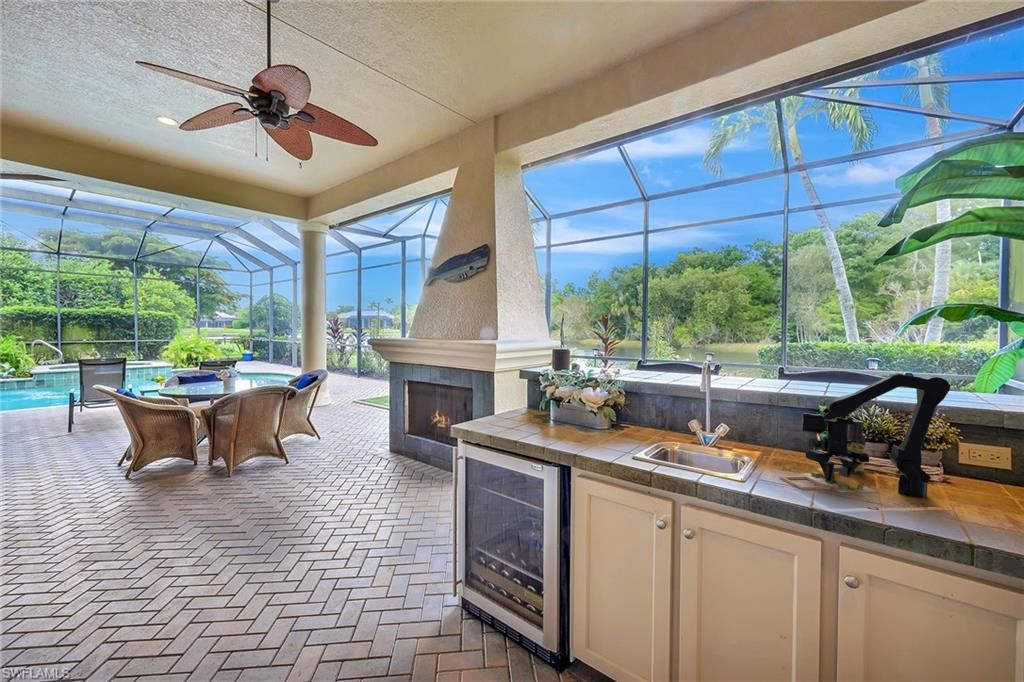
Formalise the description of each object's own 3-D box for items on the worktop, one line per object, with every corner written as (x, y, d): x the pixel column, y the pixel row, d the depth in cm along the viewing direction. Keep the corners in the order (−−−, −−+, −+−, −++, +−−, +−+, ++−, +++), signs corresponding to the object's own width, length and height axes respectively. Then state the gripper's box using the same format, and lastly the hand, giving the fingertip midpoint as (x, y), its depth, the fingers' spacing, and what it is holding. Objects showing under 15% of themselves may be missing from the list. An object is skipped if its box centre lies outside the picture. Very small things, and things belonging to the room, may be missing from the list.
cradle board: (799, 475, 148) (799, 469, 148) (832, 475, 149) (832, 469, 149) (840, 494, 131) (840, 487, 131) (877, 493, 132) (877, 487, 132)
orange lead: (814, 474, 147) (814, 466, 147) (822, 474, 147) (822, 466, 147) (851, 490, 132) (852, 481, 132) (860, 490, 133) (860, 481, 132)
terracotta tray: (806, 480, 143) (806, 475, 143) (830, 491, 133) (830, 486, 133) (779, 480, 143) (779, 476, 143) (801, 491, 133) (802, 487, 133)
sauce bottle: (841, 472, 152) (843, 420, 152) (842, 468, 157) (844, 417, 156) (864, 477, 148) (866, 423, 147) (865, 472, 152) (866, 420, 152)
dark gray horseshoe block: (841, 480, 141) (841, 465, 141) (847, 483, 139) (847, 467, 139) (825, 480, 141) (825, 465, 141) (831, 483, 139) (831, 467, 138)
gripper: (842, 429, 148) (841, 472, 149) (794, 430, 147) (793, 472, 147) (871, 437, 137) (869, 483, 137) (819, 438, 136) (818, 484, 136)
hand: (836, 480), depth 140 cm, fingers closed on dark gray horseshoe block, 6 cm apart
